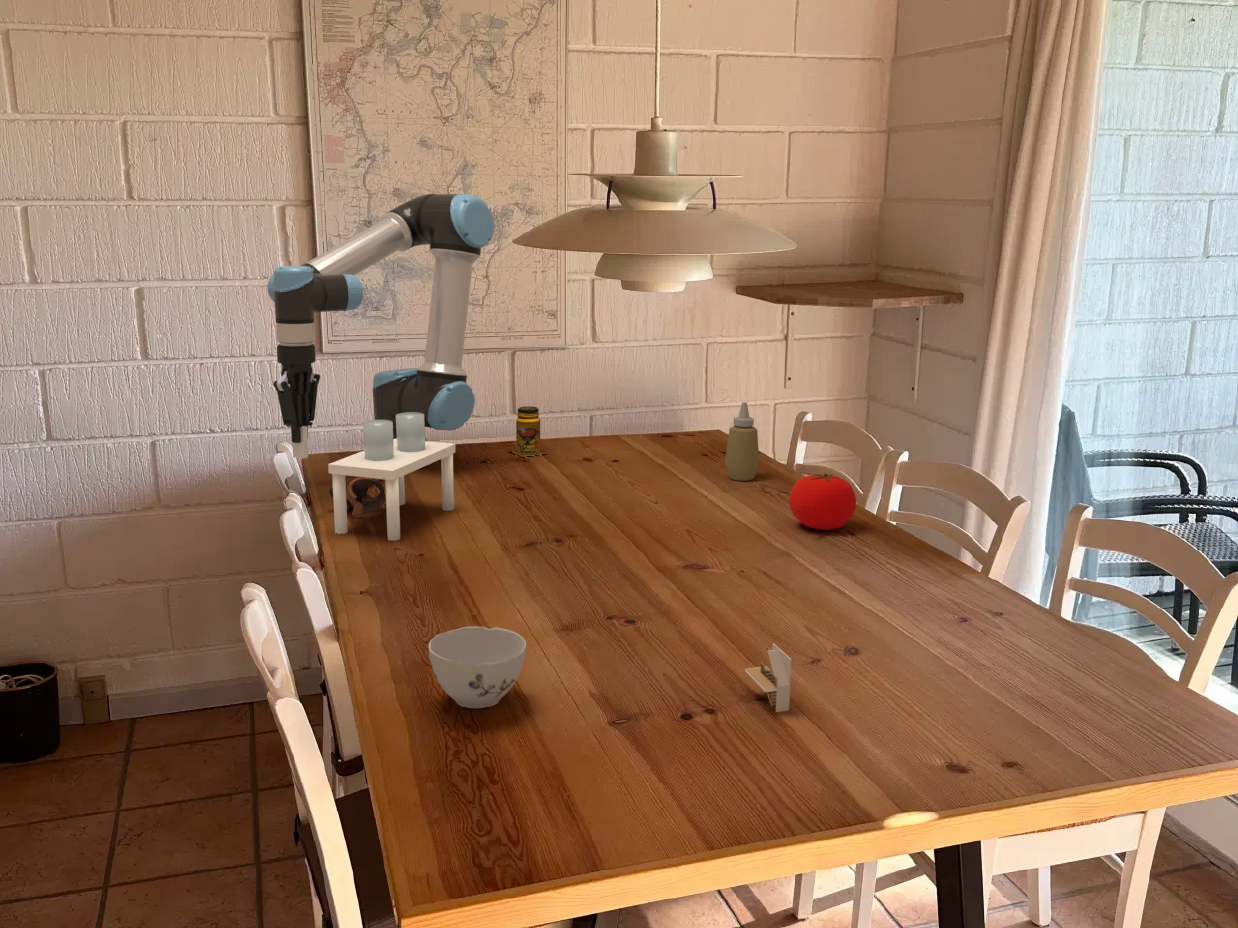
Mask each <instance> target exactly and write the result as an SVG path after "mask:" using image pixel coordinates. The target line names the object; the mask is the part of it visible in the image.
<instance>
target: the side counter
mask: <svg viewBox="0 0 1238 928" xmlns="http://www.w3.org/2000/svg"><path fill="white" fill-rule="evenodd" d="M393 444H394V458H393V459H390V460H384V461H371V460H366V459H365V453H364V450H362V451H359V452H357V453H354V454H351V455H349V456H346V457H344V458H341V459H338V460H336V461H333V462H331V463H328V464H327V465H328V474H331V476H332V477H331V479H332V485H333V499H332V500H333V517H334V518H333V519H334V534H336V533H337V534H336V535H345V534H347V533H348V532H349V530H348V527H349V526H348V512H347V511H348V510H347V509H348V508H347V503H346V476H348V477H349V476H350V477H357V478H360V477H367V478H372V479H376V480H378V479H379V480H385V481H384V482H385V484H384V485H385V494H386V500H385V503H386V506H385V507H386V530H387V531H386V533H387V541H393V542H394V541H399V540H401V517H400V513H401V512H400V506H403V505H404V506H405V504H406V494H405V476H406V475H408V474H411V473H413V472H415V471H417V470H419V469H422V468H425V467H424V466H426V465H428V464H430V465H431V464H433V463H434V462H437V461H439V460H440V461H441V462H440V464H441V465H440V468H441V469H440V470H441V501H442V502H441V503H442V505H441V507H442V508H441V509H442V511H445V512H451V511H454V510H455V497H454V496H455V491H454V488H455V487H454V454H455V453H456V443H448V442H437V441H428V440H427V441H425V449H424V450H422V451H416V452H402V451H398V450H397V439H393ZM428 466H429V465H428ZM426 467H427V466H426Z"/></svg>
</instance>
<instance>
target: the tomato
mask: <svg viewBox="0 0 1238 928" xmlns="http://www.w3.org/2000/svg"><path fill="white" fill-rule="evenodd" d="M788 500H789V501H788V502H789V503H788V504H789V507H790V511H791V513H792V514H793V517H795V519H797V521H798V522H799V523H801V524H802V525H804V526H806V527H807V528H808V527H809V528H810V529H811V528H812V529H815V530H819V531H829V530H835V529H839V528H841V527H844V526H845V525H846V524H847V523H848V522H849V521H850V520H851V518H852V517H853V515H854V514H855V511H856V508H857V498H856V493H855V491H854V489H853V487H852V485H851V484H850V482H848V481H847V480H846V479H845V478H842V477H839V476H836V475H835V474H834V473H833V474H828V473H822V474H810V475H806V476H803V477H801V478H799V479H798V480H797V481H796V482H795V483H794V485H793V486H792V489H791V490H790V493H789V496H788Z"/></svg>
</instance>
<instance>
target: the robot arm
mask: <svg viewBox="0 0 1238 928" xmlns="http://www.w3.org/2000/svg"><path fill="white" fill-rule="evenodd" d="M494 223H495V221H494V217H493V214H492V211H491V209H490V208H489V206H488V204H487V203H486V202H485V201H484V200H483V199H482V198H481V197H479V196H477V195H472V194H465V193H458V194H456V193H455V194H454V193H447V194H445V193H444V194H441V193H440V194H439V193H437V194H436V193H428V194H427V193H426V194H423V195H420V196H417V197H415V198H412V199H410V200H407V201H406V202H404V203H402V204H400V205H398V206H396V207H395V208H393V209H390V210H389V211H388V212H385V213H384V214H382V215H381V218H380V221H379V222H377V223H375V224H373V225H371V226H370V227H367V228H366V229H364V230H363V231H361V232H359V233H357V234H355V235H353V236H352V237H350V238H348V239H346V240H345V241H343V242H341V243H339V244H338V245H336V246H333V247H332V248H330V249H328V250H326V251H325V252H323V253H321V254H320V255H318V256H316V257H314V258H313V259H311V260H309V261H307V262H305V263H303V264H302V265H281V266H277V267H275V268H274V270H273V271H274V272H273V273H272V275H271V276H270V277H269V279H268V282H267V294H268V296H269V298H270V299H271V300H272V301H273V303H274V315H275V316H274V317H275V328H276V329H275V330H276V332H275V333H276V342H277V343H279V344H277V346H276V361H277V363H279V364H281V371H280V375H281V377H280V379H279V380H274V381H273V387H274V389H275V391H276V394H277V398H278V403H279V408H280V413H281V419H282V423H283V425H284V426H286V427H289V428H290V430H291V431H290V433H291V442H292V443H291V444H292V458H295V459H308V458H309V440H308V439H309V429H308V428H309V426H310V427H312V426H313V424H314V423H313V422H314V420H315V416H316V406H317V397H318V396H317V395H318V387H319V383H320V379H321V374H319V373H315V372H313V366H312V364H314V363H315V362H316V361H317V357H316V355H317V353H316V345H315V344H313V343H314V342H315V341H316V333H315V332H316V329H315V313H323V312H325V313H327V312H347V311H351V310H356V309H357V308H359V307H360V305H361V304H362V302H363V300H364V289H363V285H362V282H361V280H360V279H359V278H358V277H357V276H356V275H358V274H359V273H362V272H363V271H365V270H367V269H368V268H370V267H372V266H373V265H375V264H377V263H378V262H380V261H382V260H384V259H386V258H387V257H389V256H391V255H392V254H394V253H396V252H397V251H399V252H406V251H409V250H410V249H412V248H414V247H417V246H424V245H426V246H427V245H429V252H430V253H431V254H432V256H433V257H434V259H435V260H434V261H435V262H434V269H433V270H434V271H433V279H432V288H431V289H432V290H431V297H430V305H429V306H430V307H429V316H428V324H427V325H428V327H427V334H426V335H427V336H426V345H425V353H424V354H425V356H424V361H423V363H421V364H420V366H418V367H412V368H400V369H399V368H398V369H393V370H391V369H389V370H383V371H379V372H377V373H375V374H374V375H373V379H372V381H373V382H372V388H371V389H372V400H373V401H372V402H373V415H374V417H373V418H374V419H373V420H390V421H392V422H393V439H397V432H396V414H399V413H405V412H419V413H423V414H424V425H425V428H429V429H434V430H437V431H455V430H457V429H460V428H462V427H463V426H464V424H465V423H467V422H468V421H469V420H470V418H471V416H472V414H473V411H474V408H475V405H476V404H475V403H476V402H475V401H476V398H475V393H474V392H473V388H472V387H471V386H470V385H468V383H467V382H468V381H467V380H468V379H467V378H468V374H467V372H466V371H465V370H464V368H463V366H462V365H463V356H464V355H463V354H464V348H465V347H464V346H465V338H466V337H465V336H466V328H467V320H468V319H467V318H468V310H469V301H470V291H471V280H472V275H473V274H472V273H473V266H474V263H475V262H476V261H478V260H479V259H480V258H481V251H482V248H484V247H486V246H487V245H488V244H490V243H489V241H491V240H492V239H493V235H494V232H495V224H494ZM425 441H428V440H427V437H426V436H425ZM430 465H431V464H428V465H426V466H424V467H423V468H425V467H428V466H430Z"/></svg>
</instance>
